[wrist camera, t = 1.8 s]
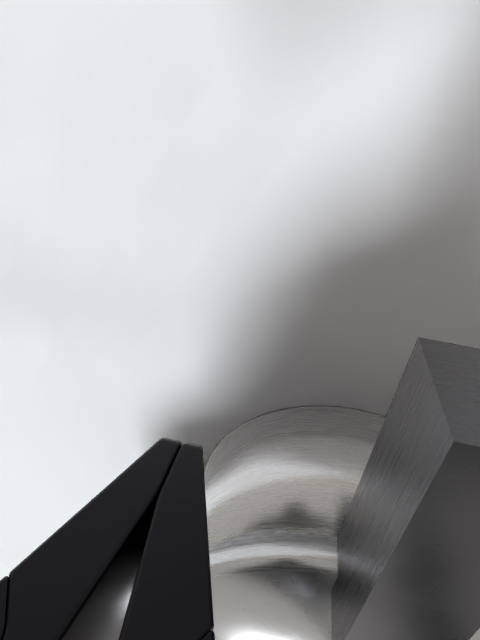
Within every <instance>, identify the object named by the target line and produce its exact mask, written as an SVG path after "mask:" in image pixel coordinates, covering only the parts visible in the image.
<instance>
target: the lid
mask: <svg viewBox="0 0 480 640" xmlns="http://www.w3.org/2000/svg"><path fill="white" fill-rule="evenodd" d="M209 556H210V571H211V587H212V602H213V618H214V630H213V632H214V633H215V640H480V349H477V348H472V347H467V346H461V345H456V344H451V343H445V342H440V341H435V340H429V339H424V338H419V337H418V339H417V342H416V344H415V347H414V349H413V352H412V354H411V357H410V359H409V362H408V364H407V366H406V369H405V371H404V374H403V376H402V379H401V381H400V384H399V386H398V388H397V391H396V393H395V396H394V398H393V401H392V403H391V406H390V408H389V411H388V413H387V415H386V418H385V420H384V423H383V425H382V428H381V430H380V433H379V435H378V438H377V440H376V442H375V445H374V447H373V450H372V452H371V455H370V457H369V460H368V462H367V465H366V467H365V469H364V472H363V474H362V477H361V479H360V482H359V484H358V487H357V489H356V491H355V494H354V496H353V499H352V501H351V504H350V506H349V509H348V511H347V514H346V516H345V518H344V521H343V523H342V526H341V528H340V531H339V533H338V536H337V537H334V536H326V535H317V534H291V533H286V534H263V535H255V536H248V537H240V538H235V539H231V540H227V541H223V542H219V543H215V544H212V545H210V546H209Z"/></svg>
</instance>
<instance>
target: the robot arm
mask: <svg viewBox="0 0 480 640" xmlns="http://www.w3.org/2000/svg"><path fill="white" fill-rule="evenodd" d="M213 630H214V618H213V602H212V587H211V571H210V556H209V540H208V525H207V509H206V494H205V478H204V463H203V449H202V447H201V446H200V445H196V444H191V443H187V442H185V443H183V444H182V443H181V442H180V441H178V440H173V439H169V438H162V439H160V440H159V441H158V442H156V443H155V444H154V445H153V446H152V447H151V448H150V449H149V450H147V451H146V452H145V453H144V454H143V455H142V456H141V457H140V458H138V459H137V460H136V461H135V462H134V463H133V464H132V465H131V466H129V467H128V468H127V469H126V470H125V471H124V472H123V473H121V474H120V475H119V476H118V477H117V478H116V479H115V480H114V481H112V482H111V483H110V484H109V485H108V486H107V487H106V488H105V489H103V490H102V491H101V492H100V493H99V494H98V495H97V496H96V497H94V498H93V499H92V500H91V501H90V502H89V503H88V504H86V505H85V506H84V507H83V508H82V509H81V510H80V511H79V512H77V513H76V514H75V515H74V516H73V517H72V518H71V519H70V520H68V521H67V522H66V523H65V524H64V525H63V526H62V527H61V528H59V529H58V530H57V531H56V532H55V533H54V534H53V535H51V536H50V537H49V538H48V539H47V540H46V541H45V542H44V543H42V544H41V545H40V546H39V547H38V548H37V549H36V550H35V551H33V552H32V553H31V554H30V555H29V556H28V557H27V558H26V559H24V560H23V561H22V562H21V563H20V564H19V565H18V566H16V567H15V568H14V569H13V570H12V571H11V572H10V574H9V577H8V576H5V577H4V578H3V579H1V580H0V640H215V633H214V632H213Z"/></svg>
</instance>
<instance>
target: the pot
mask: <svg viewBox="0 0 480 640" xmlns="http://www.w3.org/2000/svg"><path fill="white" fill-rule="evenodd" d="M385 418H386V417H383V416H380V415H377V414H373V413H369V412H365V411H361V410H355V409H349V408H343V407H329V406H308V407H296V408H289V409H283V410H279V411H275V412H271V413H267V414H264V415H262V416H259V417H256V418H254V419H251V420H249V421H247V422H246V423H244V424H242V425H240V426H238V427H237V428H235V429H234V430H233V431H231V432H230V433H229V434H227V435H226V436H225V437H224V438H223V439H222V440H221V441H220V442H219V443H218V445H217V446H216V448H215V449H214V451H213V452H212V454H211V456H210V458H209V461H208V463H207V466H206V469H205V472H204V478H205V494H206V509H207V525H208V540H209V546H210V545H212V544H215V543H219V542H223V541H227V540H231V539H235V538H240V537H248V536H255V535H263V534H286V533H291V534H317V535H326V536H334V537H337V536H338V533H339V531H340V528H341V526H342V523H343V521H344V518H345V516H346V514H347V511H348V509H349V506H350V504H351V501H352V499H353V496H354V494H355V491H356V489H357V487H358V484H359V482H360V479H361V477H362V474H363V472H364V469H365V467H366V465H367V462H368V460H369V457H370V455H371V452H372V450H373V447H374V445H375V442H376V440H377V438H378V435H379V433H380V430H381V428H382V425H383V423H384V420H385Z"/></svg>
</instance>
